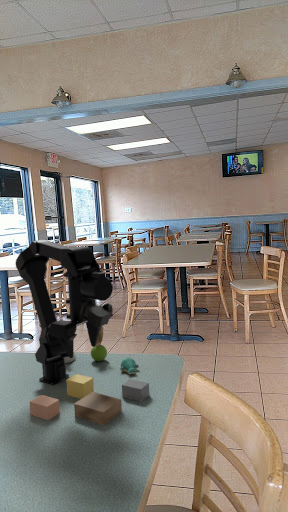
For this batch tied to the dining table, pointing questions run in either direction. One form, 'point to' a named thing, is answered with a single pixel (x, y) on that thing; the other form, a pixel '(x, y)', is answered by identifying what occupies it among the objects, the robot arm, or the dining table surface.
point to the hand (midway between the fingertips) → (82, 351)
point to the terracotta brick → (44, 407)
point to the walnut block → (98, 408)
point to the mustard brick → (79, 386)
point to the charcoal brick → (135, 390)
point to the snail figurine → (99, 348)
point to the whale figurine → (129, 366)
